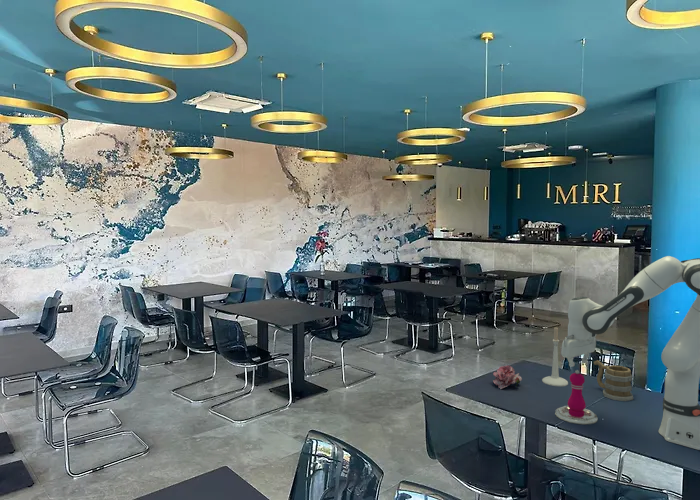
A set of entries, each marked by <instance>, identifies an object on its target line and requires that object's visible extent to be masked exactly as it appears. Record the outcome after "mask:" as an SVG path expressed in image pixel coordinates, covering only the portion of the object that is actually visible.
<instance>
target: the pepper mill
mask: <svg viewBox="0 0 700 500" xmlns="http://www.w3.org/2000/svg"><path fill="white" fill-rule="evenodd" d="M569 381H570V387H571V394H570V396H569V398H568V400H567V406H569V408H570V409H569V414H570V415H572V416H575V417H583V416H584V411H583V410H584V409H586V401H585V399H584V397H583V389H584V384H585V376H584V375H583V374H582V373H580V370H579V369H576V370H575V371H574V372H573V373H571V374H570V375H569Z"/></svg>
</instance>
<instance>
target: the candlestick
mask: <svg viewBox="0 0 700 500" xmlns="http://www.w3.org/2000/svg"><path fill="white" fill-rule="evenodd" d="M559 342H560V340H559V328H558V327H557V326H556V327H554V328H553V339H552V343H553V353H552V367H551V375H548V376H545V377H543V378H542V379H541V382H542V383H543V384H545V385H549V386H553V387H566V386H568V385H569V381H568V380H567V379H565V378H563V377H560V375H559V374H560V373H559V347H558V345H559Z"/></svg>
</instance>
